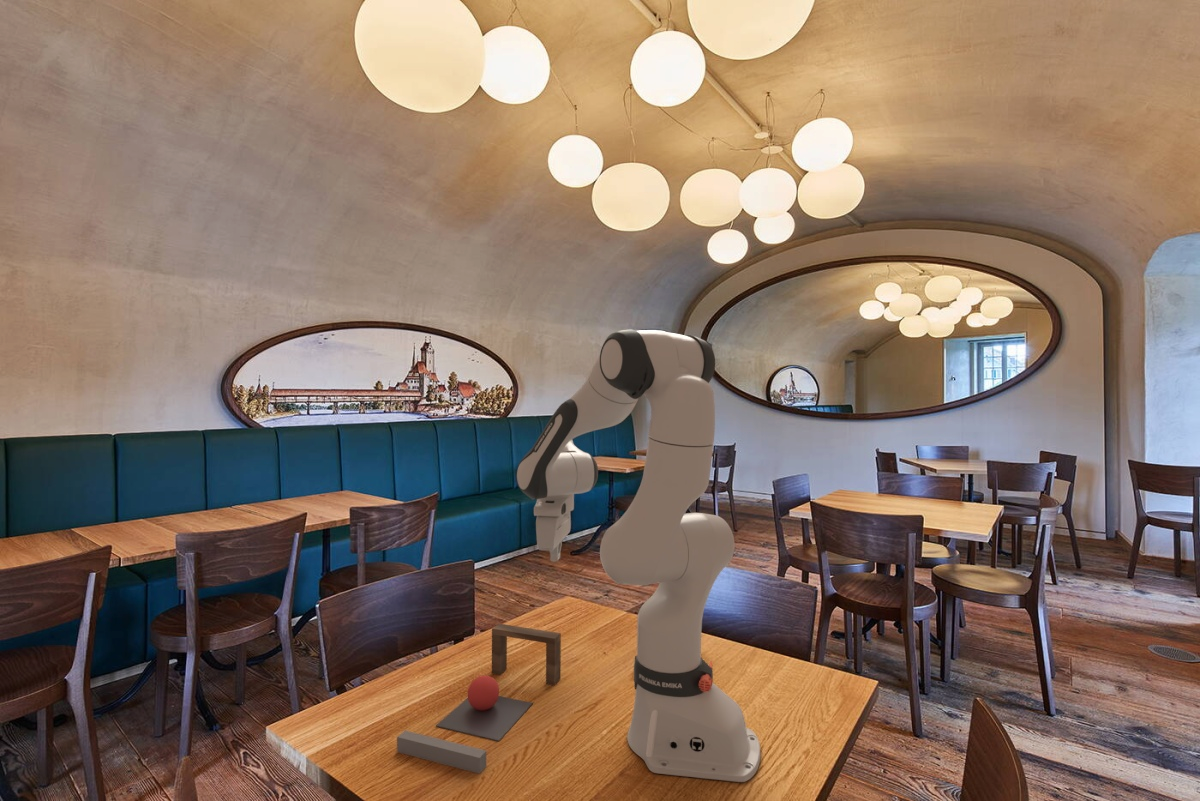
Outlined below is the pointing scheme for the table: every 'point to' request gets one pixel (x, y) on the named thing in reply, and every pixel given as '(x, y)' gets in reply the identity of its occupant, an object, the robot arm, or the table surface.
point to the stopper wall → (442, 751)
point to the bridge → (549, 638)
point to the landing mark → (486, 718)
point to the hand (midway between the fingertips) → (555, 560)
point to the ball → (483, 693)
